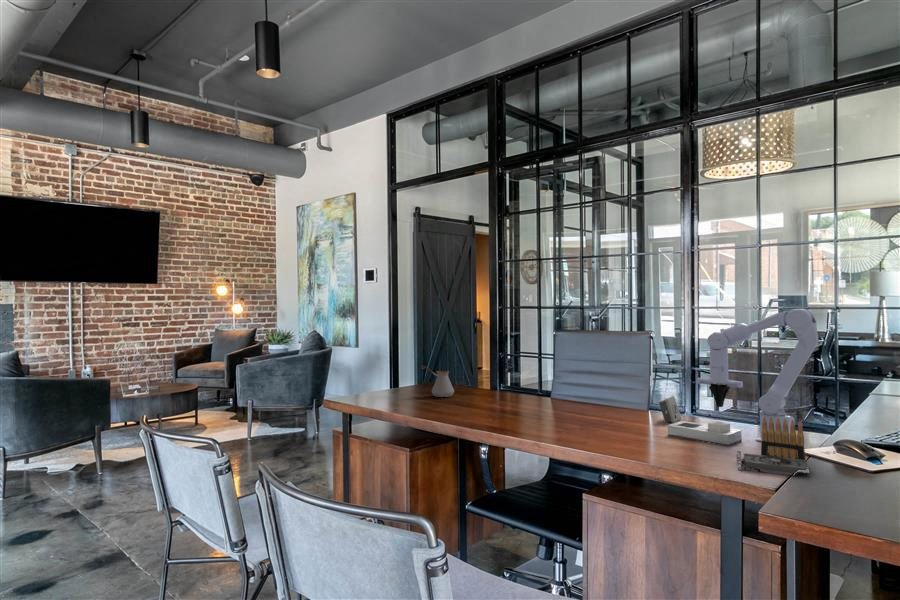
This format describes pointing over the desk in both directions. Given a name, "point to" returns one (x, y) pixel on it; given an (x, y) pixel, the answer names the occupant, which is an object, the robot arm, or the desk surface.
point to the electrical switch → (670, 410)
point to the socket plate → (703, 433)
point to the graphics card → (771, 463)
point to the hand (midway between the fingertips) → (719, 406)
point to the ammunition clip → (782, 440)
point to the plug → (719, 427)
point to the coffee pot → (441, 384)
